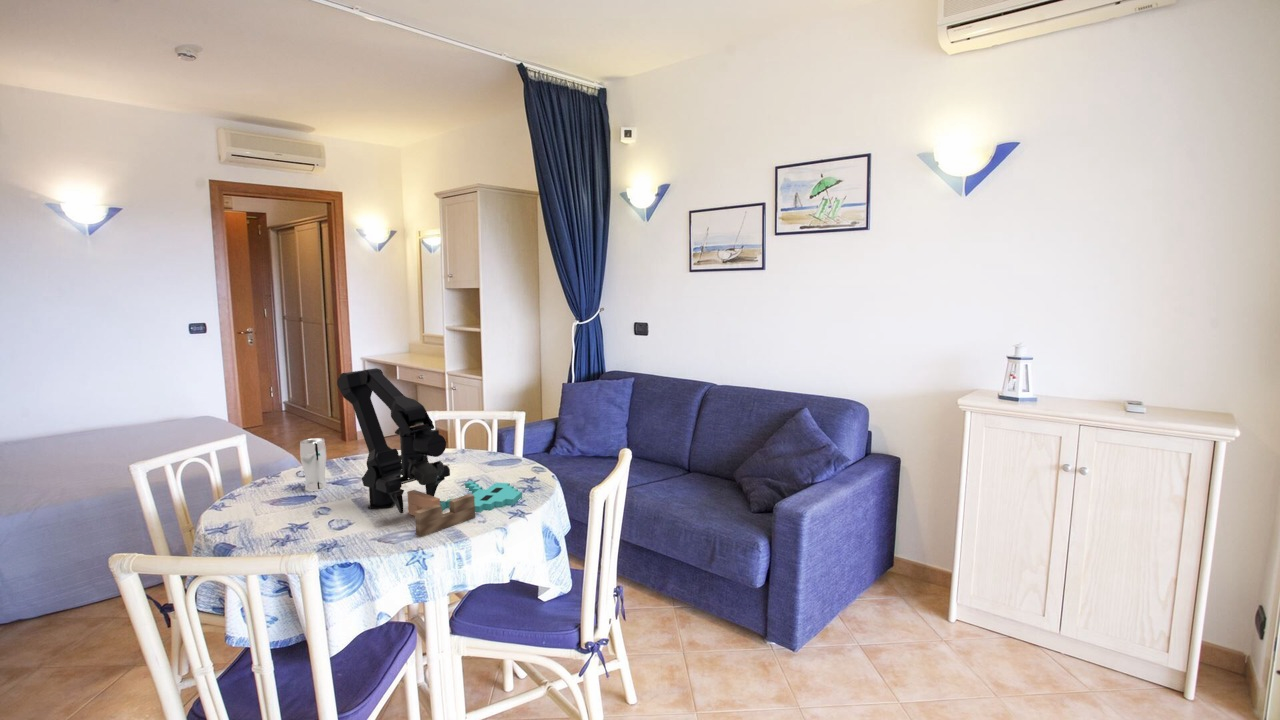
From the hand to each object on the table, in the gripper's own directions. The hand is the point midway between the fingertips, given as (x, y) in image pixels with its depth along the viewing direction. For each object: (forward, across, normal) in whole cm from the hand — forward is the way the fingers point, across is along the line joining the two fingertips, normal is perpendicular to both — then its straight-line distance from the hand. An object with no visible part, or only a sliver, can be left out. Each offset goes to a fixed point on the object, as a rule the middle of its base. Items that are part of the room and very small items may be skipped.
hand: (416, 508), depth 167 cm
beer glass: (+2, -6, +45) cm, 45 cm away
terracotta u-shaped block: (+2, 0, -4) cm, 4 cm away
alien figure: (+2, +18, -5) cm, 19 cm away
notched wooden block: (+2, 0, -14) cm, 14 cm away
